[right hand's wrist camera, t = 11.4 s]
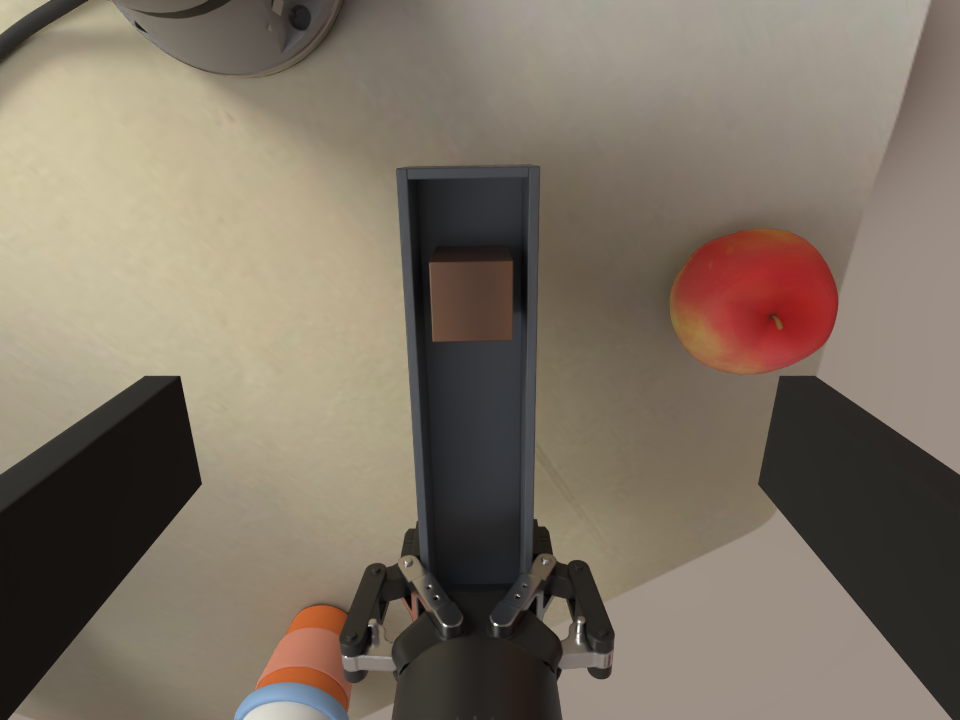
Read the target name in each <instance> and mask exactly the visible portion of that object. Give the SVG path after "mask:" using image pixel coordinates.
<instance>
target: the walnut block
mask: <svg viewBox="0 0 960 720" xmlns="http://www.w3.org/2000/svg"><path fill="white" fill-rule="evenodd" d="M429 276H430V297H431V318H432V340H433V342H466V341H512V340H513V260H512V256H511V253H510V250H509V247H508V245H489V246H437V247H436V249H435V251H434V253H433V255H432V257H431V260H430V262H429Z"/></svg>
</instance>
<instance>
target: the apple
mask: <svg viewBox="0 0 960 720" xmlns="http://www.w3.org/2000/svg"><path fill="white" fill-rule="evenodd" d="M837 311H838V294H837V289H836V285H835V281H834V279H833V276H832V274H831V271H830V269H829V267H828V265H827V264H826V262H825V260H824V259H823V257H822V256H821V255H820V253H819V252H818V251H817V250H816V249H815V248H814V247H813V246H812V245H811V244H810V243H809V242H807V241H806V240H805V239H803V238H801V237H800V236H798V235H796V234H793V233H790V232H787V231H782V230H775V229H751V230H745V231H741V232H737V233H733V234H730V235H726V236H723V237H720V238H717V239H715V240H712V241H710V242H708V243H706V244H704V245H703V246H701V247H700V248H699V249H697V250H696V251H695V252H694V253H693V254H692V256H691V257H690V258H689V259H688V261H687V262H686V264H685V265H684V266H683V268H682V269H681V271H680V272H679V274H678V276H677V277H676V279H675V281H674V283H673V286H672V289H671V293H670V315H671V321H672V325H673V327H674V330H675V332H676V335H677V337H678V338H679V340H680V342H681V343H682V345H683V346H684V347H685V349H686V350H687V351H688V352H689V353H690V354H691V355H692V356H693V357H694V358H695V359H696V360H698V361H699V362H701V363H703V364H704V365H706V366H708V367H711V368H713V369H717V370H720V371H724V372H729V373H735V374H759V373H766V372H770V371H774V370H777V369H781V368H784V367H787V366H789V365H792V364H794V363H796V362H798V361H800V360H802V359H804V358H806V357H808V356H809V355H811V354H813V353H814V352H815V351H817V350H818V349H819V348H820V347H822V346H823V345H824V343H825V342H826V341H827V340H828V338H829V336H830V334H831V332H832V330H833V327H834V324H835V320H836V316H837Z"/></svg>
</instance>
